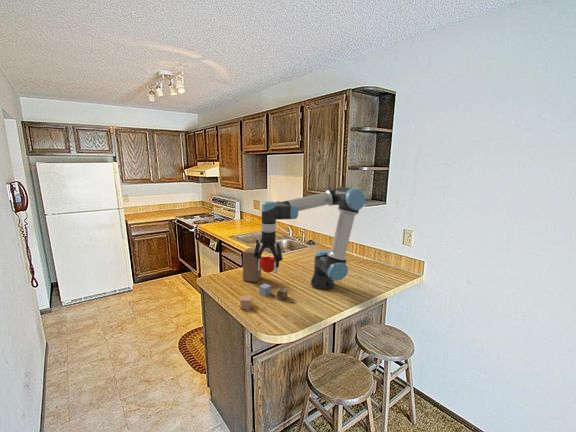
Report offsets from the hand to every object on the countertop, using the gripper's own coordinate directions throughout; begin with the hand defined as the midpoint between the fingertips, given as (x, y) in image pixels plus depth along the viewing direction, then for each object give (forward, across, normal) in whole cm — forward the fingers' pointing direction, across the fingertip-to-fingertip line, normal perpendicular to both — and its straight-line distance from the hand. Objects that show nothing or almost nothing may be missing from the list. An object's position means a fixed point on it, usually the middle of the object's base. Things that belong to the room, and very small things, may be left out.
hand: (267, 271), depth 149 cm
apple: (0, 0, 0) cm, 0 cm away
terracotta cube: (+18, +8, +9) cm, 22 cm away
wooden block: (+19, +24, -24) cm, 39 cm away
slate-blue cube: (+19, +6, -9) cm, 21 cm away
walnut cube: (+19, -5, -9) cm, 21 cm away
